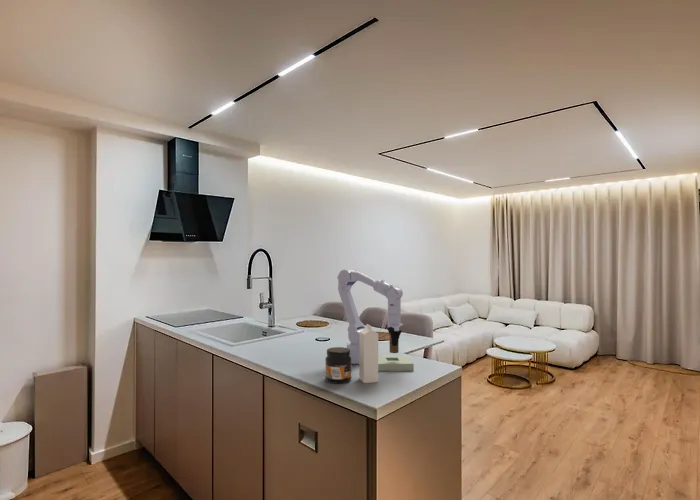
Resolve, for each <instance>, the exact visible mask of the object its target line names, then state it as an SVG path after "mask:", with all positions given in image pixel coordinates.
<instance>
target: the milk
mask: <svg viewBox="0 0 700 500" xmlns="http://www.w3.org/2000/svg"><path fill="white" fill-rule="evenodd" d="M365 325H366V326H365V329H363V330H362V331H360V337H359V364H358V365H359V367H358V369H359V370H358V371H359V374H358V375H359V377H358V378H359V380H360V381H361V382H362V383H363V384H368V383H369V384H371V383H379V371H378V355H379V333H378V332H376V331H374V330H373V329H372V325H371V324H368V323H366V324H365Z"/></svg>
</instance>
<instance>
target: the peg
mask: <svg viewBox="0 0 700 500" xmlns="http://www.w3.org/2000/svg"><path fill="white" fill-rule="evenodd" d="M399 350H400V347H399V340H398V345H397V346H393V345H392V340H391V335H390V336H389V353H390V354H399Z"/></svg>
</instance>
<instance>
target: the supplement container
mask: <svg viewBox="0 0 700 500" xmlns="http://www.w3.org/2000/svg"><path fill="white" fill-rule="evenodd" d="M324 361H325V376H324V377H325V380H326V381H327V380H328V381H330V382H329V383H331V382H337V383H336V384H344V383H343V382H346V383H348V382H350V381H351V379H352V364H351V361H352V358H351V357H350V349H348V348H347V347H343V346H342V347H340V346H337V347H335V346H334V347H329V348H327V349H326V357H325V360H324ZM328 381H327V382H328Z"/></svg>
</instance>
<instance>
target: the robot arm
mask: <svg viewBox="0 0 700 500" xmlns="http://www.w3.org/2000/svg"><path fill="white" fill-rule="evenodd" d="M336 278H337V281H338V282H337V283H338V285H337V290H338V291H337V292H338V294H339V297H340V300H341V303H342V307H343V309H344V312H345V316H346V319H347V322H348V327H347V332H348V334H347V337H348V341H349V342H348V343H346V348H348V349H350V357H351V358H352V361H351V365H352V364H353V365H357V364H358V365H359V337H360V331H362V330H363V329H365V328H366V326H365V324H364V323H363V322H362V321H361V319H360V316H359V313H358V310H357V306H356V304H355V302H354V301H355V300H354V298H353V295H352V293H351V289H352V288H353V286H355V284H356V283H357V282H361V283H363V284H366V285H368V286H370V287H372V289H373V290H374V292H375V293H378V294H380V295H382V296H384V297H385V298H386V300H387V324H386V326H388V327H386V330H387V332H388V335H389V337H390V335H391V340H392V345H393V346H397V345H398V340H399V339H400V337H401V334H402V333H403V332H402V331H403V330H401V329H400V327H402V326H404V324H403V323H401V320H402V319H401V318H402V317H401V313H402V312H401V311H402V309H401V305H402V303H401V299H402V297H403V293H404V292H403V290H402V288H401V287H399V286H394V284H392V283H391V284H390V283H388V282H386V281H385V280H384V279H377V280H375V278H372V277H370V276H369V275H366V273H362V271H359V270H357V269H342V270H340V271H339V273H338V274H337V277H336Z"/></svg>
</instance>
